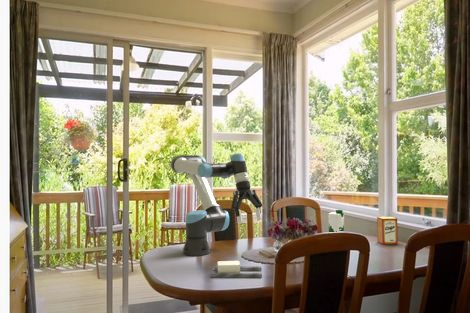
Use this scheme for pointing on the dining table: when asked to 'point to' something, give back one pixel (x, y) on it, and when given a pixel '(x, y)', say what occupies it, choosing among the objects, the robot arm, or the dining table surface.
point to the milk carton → (336, 221)
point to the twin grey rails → (240, 275)
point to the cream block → (228, 267)
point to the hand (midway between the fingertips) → (250, 221)
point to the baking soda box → (387, 230)
